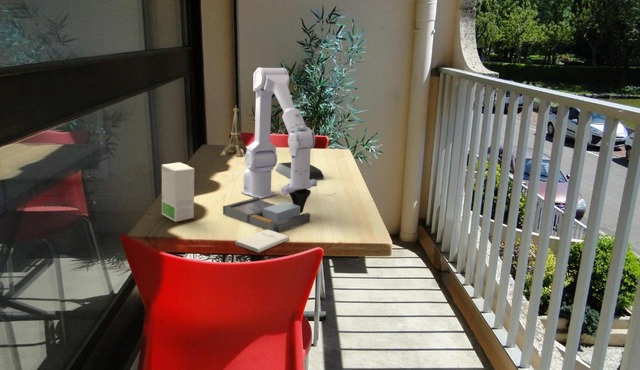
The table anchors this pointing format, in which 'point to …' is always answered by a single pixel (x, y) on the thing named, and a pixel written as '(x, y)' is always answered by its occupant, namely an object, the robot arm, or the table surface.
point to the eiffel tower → (235, 135)
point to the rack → (261, 215)
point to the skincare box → (177, 191)
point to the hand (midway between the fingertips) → (298, 212)
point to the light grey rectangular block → (281, 211)
